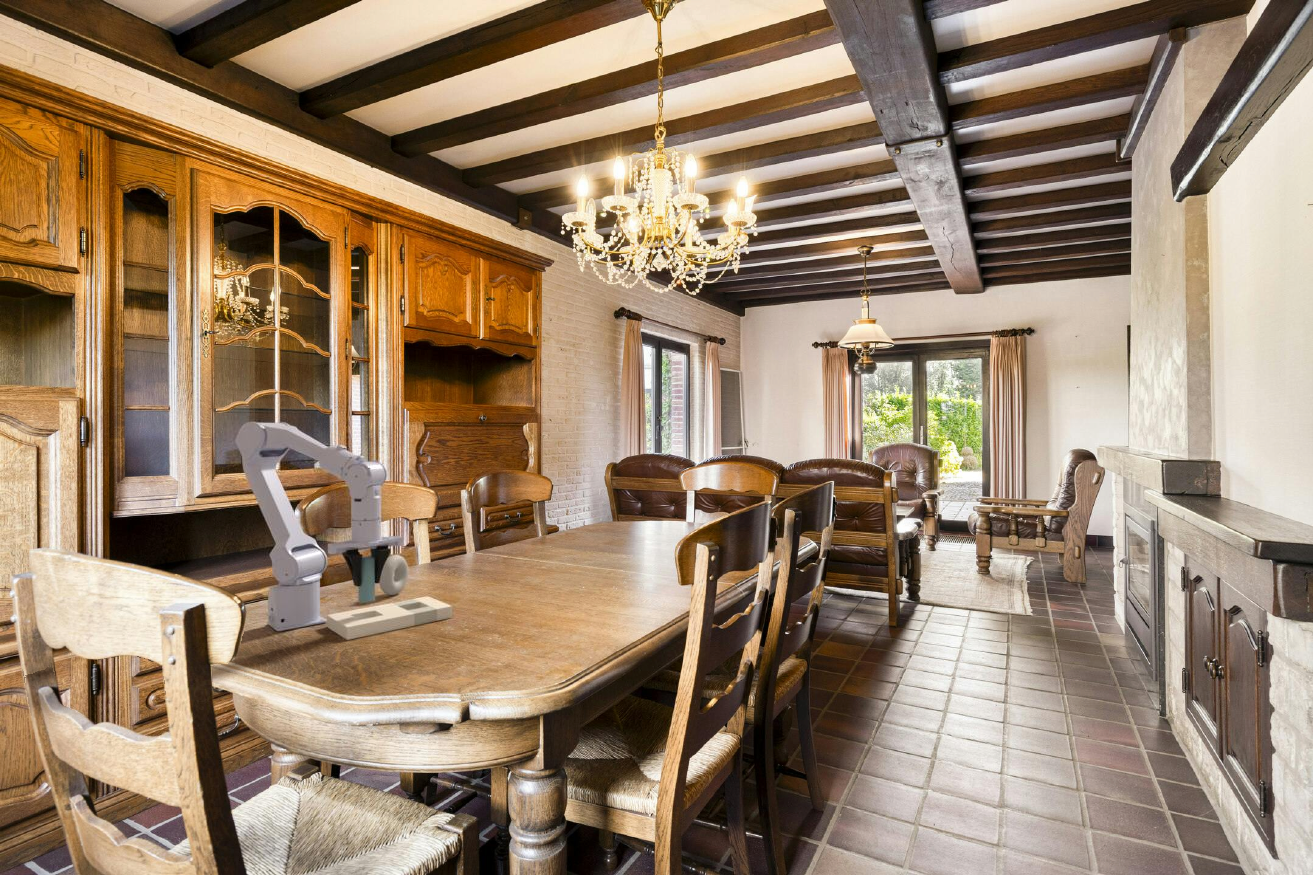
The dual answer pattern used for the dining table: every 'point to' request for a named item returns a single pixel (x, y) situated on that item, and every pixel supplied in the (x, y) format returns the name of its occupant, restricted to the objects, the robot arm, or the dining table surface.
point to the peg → (367, 580)
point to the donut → (394, 575)
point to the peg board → (388, 617)
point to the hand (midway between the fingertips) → (366, 584)
